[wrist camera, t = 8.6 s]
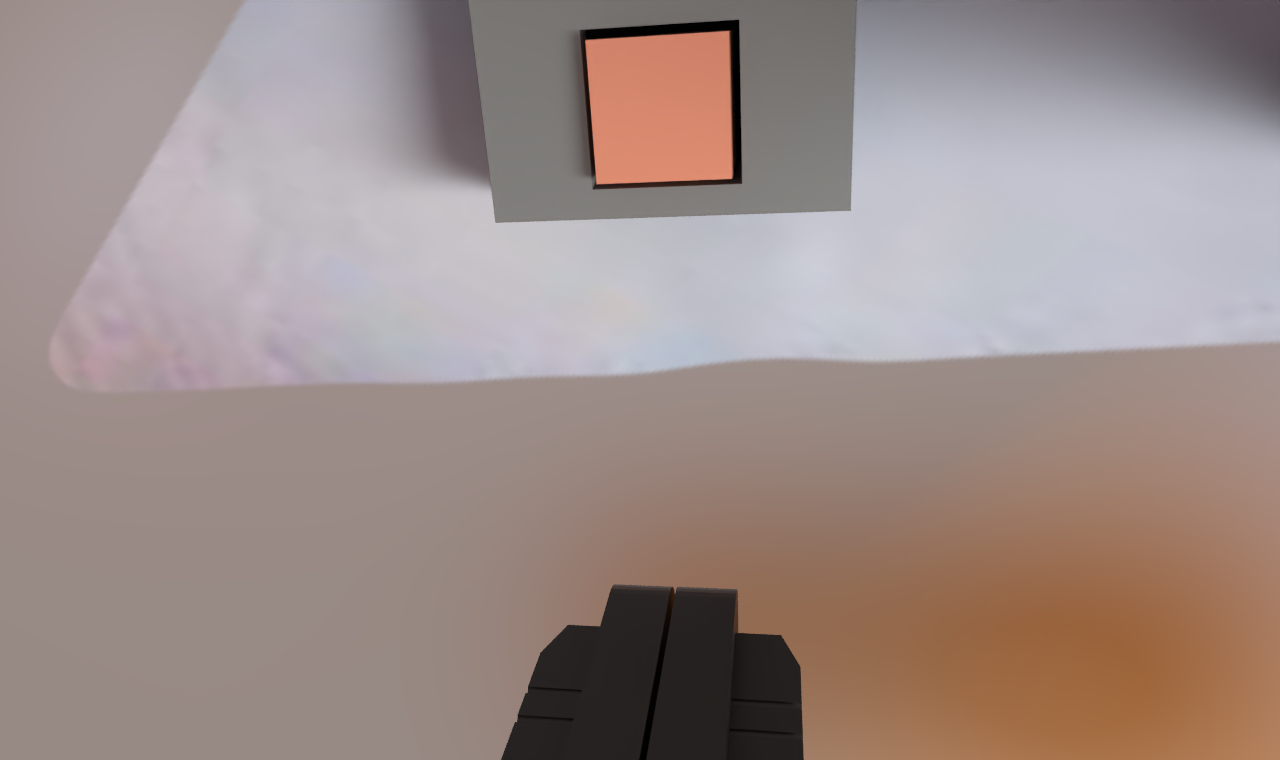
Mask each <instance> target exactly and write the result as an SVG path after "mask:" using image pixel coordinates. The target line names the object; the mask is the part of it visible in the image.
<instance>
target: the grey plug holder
mask: <svg viewBox="0 0 1280 760" xmlns="http://www.w3.org/2000/svg"><path fill="white" fill-rule="evenodd" d="M856 1H857V0H468V2H469V11H470V19H471V27H472V35H473V43H474V51H475V59H476V68H477V76H478V84H479V92H480V100H481V108H482V116H483V124H484V133H485V141H486V149H487V157H488V165H489V173H490V181H491V190H492V198H493V206H494V214H495V222H496V223H500V222H530V221H559V220H588V219H618V218H647V217H677V216H706V215H735V214H765V213H794V212H824V211H851V179H852V144H853V108H854V72H855V36H856ZM725 20H739V31H740V87H741V144H742V161H736V162H735V167H734V172H733V177H732V179H716V180H691V181H666V182H641V183H616V184H597V182H596V169H595V156H594V144H593V131H592V118H591V106H590V93H589V80H588V67H587V55H586V42H585V40H586V30H588V29H603V28H618V27H633V26H649V25H664V24H679V23H694V22H710V21H725Z"/></svg>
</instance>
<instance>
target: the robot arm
mask: <svg viewBox="0 0 1280 760" xmlns="http://www.w3.org/2000/svg"><path fill="white" fill-rule="evenodd" d="M801 704H802V702H801V672H800V666H799V664H798V662H797V661H796V659H795V657H794V656H793V654H792V652H791V651H790V649H789V648H788V646H787V644H786V643H785V641H784V639H783V638H782V636H781V635H767V634H746V633H738V593H737V589H717V588H692V587H677V589H676V593H674V588H673V587H663V586H639V585H638V586H637V585H616V584H615V585H613V587H612V588H611V591H610V594H609V598H608V601H607V605H606V608H605V612H604V615H603V619H602V622H601V626H600V627H598V626H579V625H567V627H566V628H565V629H564V630H563V631H562V632H561V633H560V634H559V635H558V636H557V637H556V638H555V639H554V640H553V641H552V642H551V643H550V644H549V645H548V646H547V647H546V648H545V649H544V650H543V651H542V652H541V653H540V656H539V659H538V661H537V664H536V667H535V669H534V672H533V675H532V677H531V681H530V683H529V686H528V693H526V694H525V697H524V699H523V702H522V705H521V708H520V710H519V713H518V720H517V722H515V724H514V726H513V729H512V732H511V735H510V737H509V740H508V743H507V745H506V748H505V751H504V754H503V756H502V759H501V760H804V759H803V730H802V705H801Z"/></svg>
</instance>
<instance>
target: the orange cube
mask: <svg viewBox="0 0 1280 760" xmlns="http://www.w3.org/2000/svg"><path fill="white" fill-rule="evenodd" d="M585 42H586V55H587V67H588V80H589V93H590V106H591V118H592V131H593V144H594V156H595V169H596V182H597V184H616V183H641V182H666V181H691V180H716V179H732V177H733V172H734V167H735V162H736V115H735V65H734V29H726V30H710V31H695V32H679V33H663V34H648V35H632V36H616V37H605V38H598V39H591V40H585Z"/></svg>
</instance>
